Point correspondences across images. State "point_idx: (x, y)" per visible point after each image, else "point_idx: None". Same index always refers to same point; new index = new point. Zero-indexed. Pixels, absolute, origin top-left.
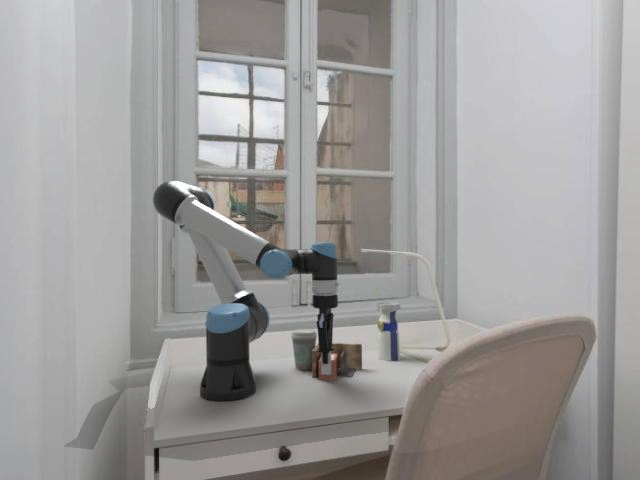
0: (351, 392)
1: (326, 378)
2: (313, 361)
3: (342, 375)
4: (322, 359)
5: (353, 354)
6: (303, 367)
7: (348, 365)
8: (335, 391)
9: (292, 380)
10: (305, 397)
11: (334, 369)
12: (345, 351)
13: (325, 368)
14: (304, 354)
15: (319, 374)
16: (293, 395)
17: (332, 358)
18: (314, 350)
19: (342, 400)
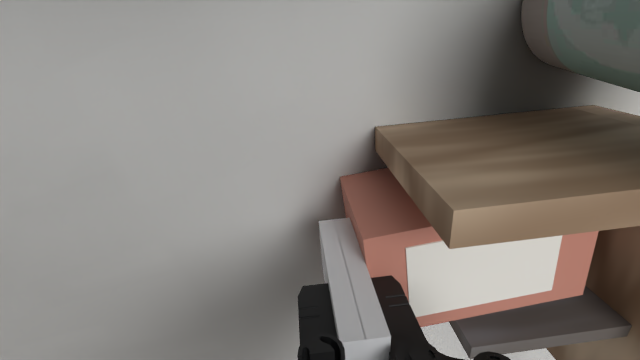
0: (213, 348)
1: None
2: (409, 175)
3: None
4: (332, 296)
5: (588, 351)
6: (531, 12)
7: None
8: (196, 296)
9: (278, 14)
10: (39, 202)
11: None
12: (612, 333)
13: (324, 267)
14: (617, 23)
15: (345, 195)
16: (22, 130)
17: (448, 303)
18: (467, 232)
19: (107, 345)
